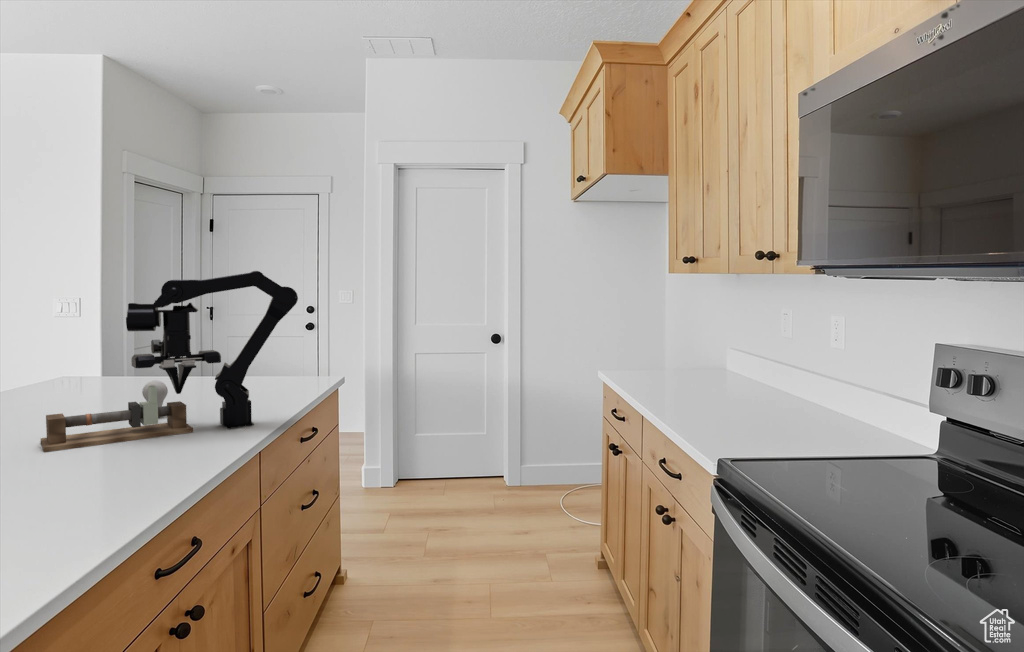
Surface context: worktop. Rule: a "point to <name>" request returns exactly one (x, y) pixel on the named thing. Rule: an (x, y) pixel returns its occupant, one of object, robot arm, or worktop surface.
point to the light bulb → (161, 391)
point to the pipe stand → (62, 441)
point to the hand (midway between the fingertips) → (178, 393)
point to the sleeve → (150, 407)
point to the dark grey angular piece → (134, 414)
